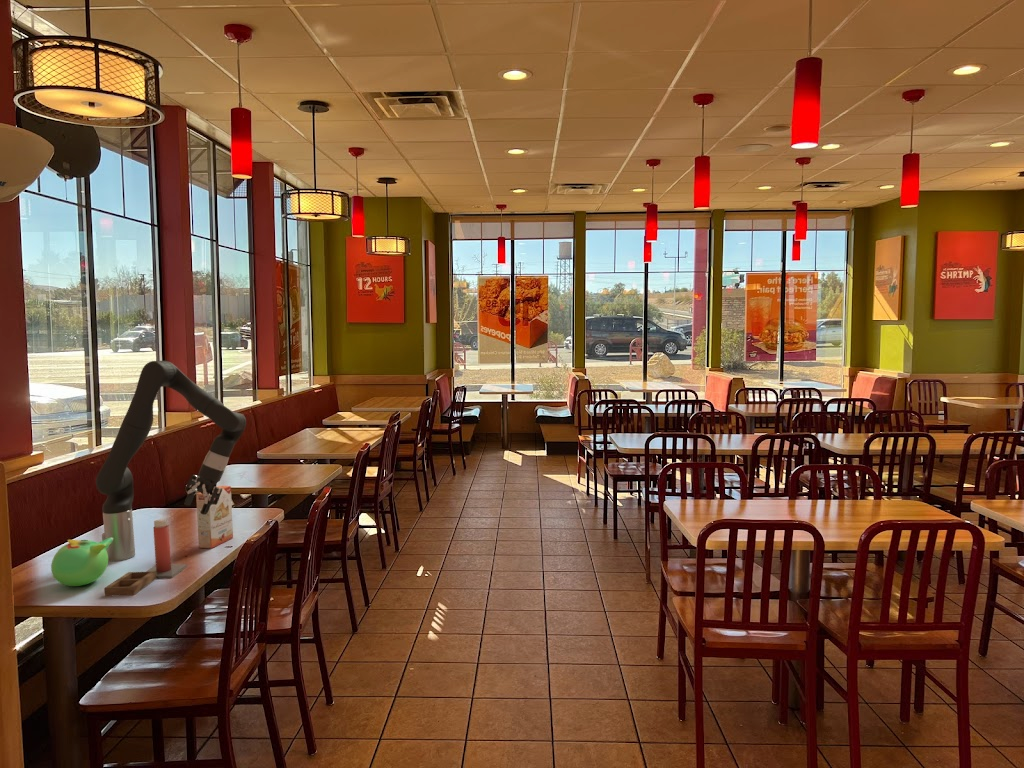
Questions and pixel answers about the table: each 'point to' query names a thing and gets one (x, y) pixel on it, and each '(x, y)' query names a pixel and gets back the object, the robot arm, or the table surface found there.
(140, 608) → the table surface
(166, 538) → the pepper mill
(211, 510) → the cracker box
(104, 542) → the toy bird
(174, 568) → the slate tile
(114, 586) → the caddy
